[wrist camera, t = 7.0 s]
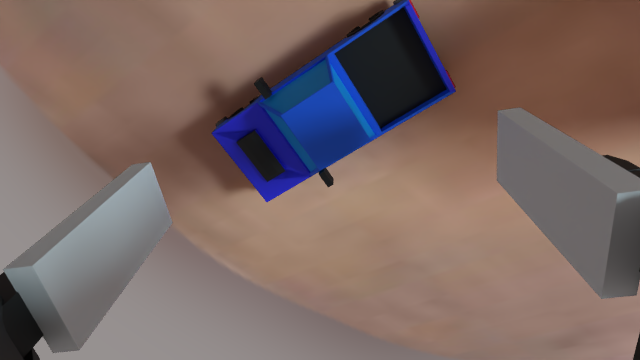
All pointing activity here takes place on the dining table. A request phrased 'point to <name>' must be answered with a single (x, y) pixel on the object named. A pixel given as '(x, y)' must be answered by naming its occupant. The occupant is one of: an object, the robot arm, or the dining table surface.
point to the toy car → (336, 102)
